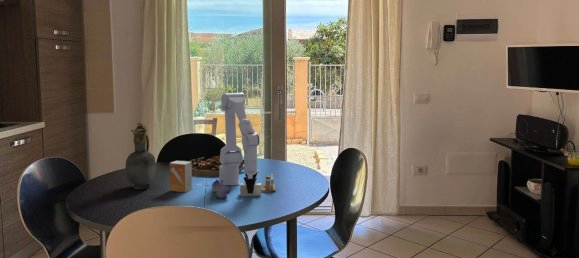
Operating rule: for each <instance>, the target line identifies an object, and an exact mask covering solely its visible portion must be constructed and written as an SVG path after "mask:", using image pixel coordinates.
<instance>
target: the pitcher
mask: <svg viewBox="0 0 579 258" xmlns="http://www.w3.org/2000/svg"><path fill="white" fill-rule="evenodd" d="M136 125H137V126H136V127H135V128H134V129H131V130H130V132H132V135H133V144H134V151H133V152H131V153H130V154H128V156H127V158H126V161H125V176H126V177H125V178H126V180H127V182H129V183H130V184H133V186H132V187H133V189H134V190H144V189H145V190H146V189H148V188H150V186H151V185H150V184H149V183H152V181H153V180H154V178H155V176H156V169H157V168H156V167H157V166H156V165H157V164H156V157H155V156H154V154H152V153H151V152H149V149H150V148H149V147H150V138H149V137H150V136H149V134H148V133H147V132H148V131H149V130H148V128H147V126H145V125H144V124H142V123H141V122H137V123H136Z"/></svg>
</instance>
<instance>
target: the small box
mask: <svg viewBox="0 0 579 258" xmlns="http://www.w3.org/2000/svg"><path fill="white" fill-rule="evenodd" d="M192 165H193V163H192V161H189V162H188V161H187V160H175V161H171V162H169V166H168V167H169V191H170V192H178V193H188V192H190V191H191V190H193V176H192Z"/></svg>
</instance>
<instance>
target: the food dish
mask: <svg viewBox="0 0 579 258" xmlns="http://www.w3.org/2000/svg"><path fill="white" fill-rule="evenodd" d="M203 159H205V156H204V157H203V156H202V157H199V158H196V159H191V160H189V161H187V162H192V161H193V163H192V177H199V178H200V177H203V178H216V177H219V167H220V166H221V165H222V164H221V162H220V155H217V156H216V155H215V156H212V157H211V158H208V159H206V160H205V162H204V161H203ZM196 160H197V161H196ZM241 170H243V171H244V159H243V160H242V163H241V164H240V165H239V173H241V172H242V171H241Z"/></svg>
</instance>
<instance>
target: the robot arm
mask: <svg viewBox="0 0 579 258" xmlns="http://www.w3.org/2000/svg"><path fill="white" fill-rule="evenodd" d="M220 99H221V101H220V103H221V104H220V105H221V111H224V122H225V124H224V125H225V126H224V127H225V145H224V146H223V147H222V148H220V153H219V156H220V162H221V164H222V165H221V166H220V167H219V176H218V177H219V178H218V181H219V182H223V184H222V186H240V184H241V180H240V172H239V165H240V164H241V163H242V160H244V164H243V167H244V169H243V173H244V175H245V176H244V177H243V180H244V183H246V186H247V191H248V193H253V190H254V184H255V183H257V179H258V178H257V177H258V176H257V175H258V173H260V169H258V147H259V146H260V135H259V133H258V132H256V130H255V129H254V127H253V124H252V121H251V120H250V119H248V117H247V114H246V109H245V103H246V96H245V93H243V92H224V93H223V94H222V95H221V98H220ZM236 117H237V119H238V121H239V122H238V125H237V126H238V128H239V131H240V134H241V144H242V148H241V147H239V145H237V129H236V128H237V126H236V124H237V123H236V122H237V121H236ZM242 150H243V153H242ZM243 156H244V157H243Z"/></svg>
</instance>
